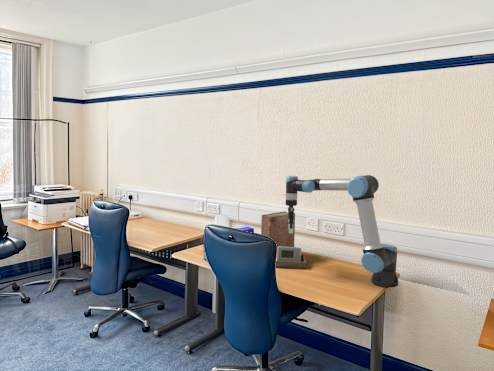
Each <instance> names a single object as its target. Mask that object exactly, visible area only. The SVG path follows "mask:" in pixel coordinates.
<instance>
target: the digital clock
mask: <svg viewBox="0 0 494 371" xmlns="http://www.w3.org/2000/svg"><path fill="white" fill-rule="evenodd" d="M301 255H302V248H301V247H297V246H294V247H287V246H284V247H283V246H278V247H277V261H290V262H301Z"/></svg>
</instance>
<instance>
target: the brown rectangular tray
mask: <svg viewBox="0 0 494 371" xmlns="http://www.w3.org/2000/svg"><path fill="white" fill-rule="evenodd" d="M279 267H280V269H281V268H282V269H283V268H284V269H304V270H306V269H307V260H306V256H305V254H301V262H290V261H276V267H275V268H279Z"/></svg>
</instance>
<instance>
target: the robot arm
mask: <svg viewBox="0 0 494 371" xmlns="http://www.w3.org/2000/svg"><path fill="white" fill-rule="evenodd" d="M298 177H299V176H297V175H287V176H286V180H285V194H284V196H285V205H286V206H288V207H287V211H288V212H287V213H289V214H288V229H289V233H293V223H294V222H293V215H294V213H295V207H297V205H298V192H302V193H307V194H308V193H309V194H310V193H313V192H314V191H315V192H316V191H332V192H333V191H336V192H337V191H344V192H345V191H347V193H348V194H349V195H350V196H351V197H352V202H354V203H355V204H356V208H357V212H358V218H359V223H360V228H361V233H362V239H363V244H364V245H363V248H362V252H363V255H362V256H361V258H360V259H361V261H360V262H361V263H360V264H361V266H362V267H363V269H365V271H367V272H369V273H371V274H372V275H371V277H370V282H371V283H372V284H373V285H375V286H378V287H383V288H396V287H398V286H399V278H398V275H397V259H398V253H399V251H398V248H397V246H396V245H392V244H390V243H389V244H388V243H381V239H380V235H379V229H378V225H377V218H376V214H375V209H374V203H373V200H375V195H374V194H375V193H376V192H377V191H378V189H379V188H380V185H379V184H380V183H379V180H378V179H377V178H376V177H375V176H373V175H371V174H367V175H366V174H365V175H358V176H354V177H352V178H315V179H299V178H298Z"/></svg>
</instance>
